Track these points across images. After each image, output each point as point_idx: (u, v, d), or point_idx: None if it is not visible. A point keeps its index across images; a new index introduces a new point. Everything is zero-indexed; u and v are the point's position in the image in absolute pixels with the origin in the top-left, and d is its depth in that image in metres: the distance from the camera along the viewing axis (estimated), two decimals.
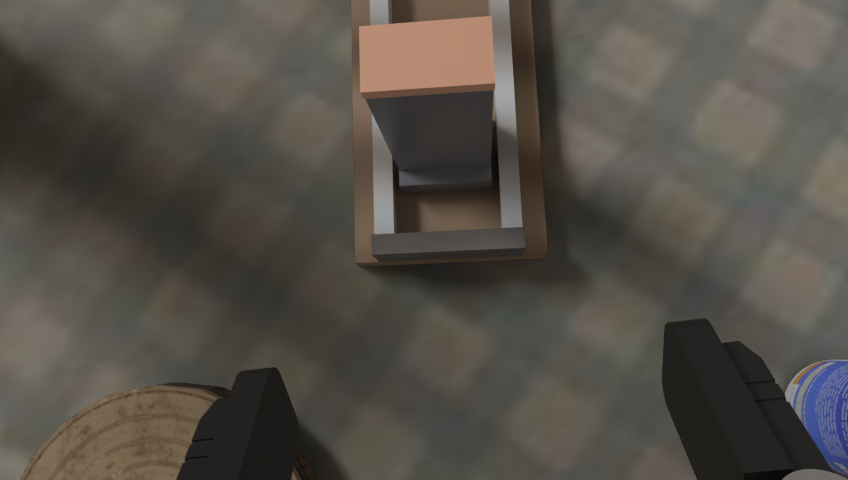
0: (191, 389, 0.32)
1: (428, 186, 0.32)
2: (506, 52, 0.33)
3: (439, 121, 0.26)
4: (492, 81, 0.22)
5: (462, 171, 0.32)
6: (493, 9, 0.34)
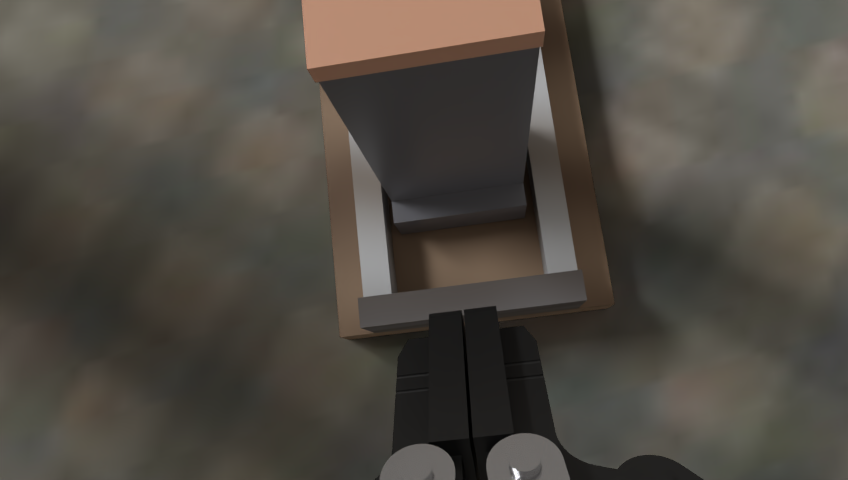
0: None
1: (435, 220, 0.23)
2: None
3: (447, 116, 0.16)
4: (539, 28, 0.12)
5: (482, 195, 0.22)
6: None
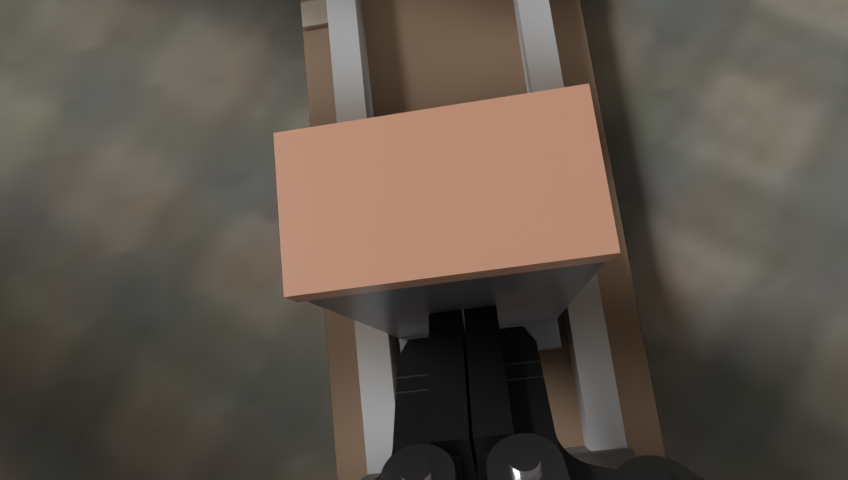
0: None
1: None
2: None
3: (473, 299, 0.12)
4: (612, 248, 0.09)
5: None
6: (533, 64, 0.21)
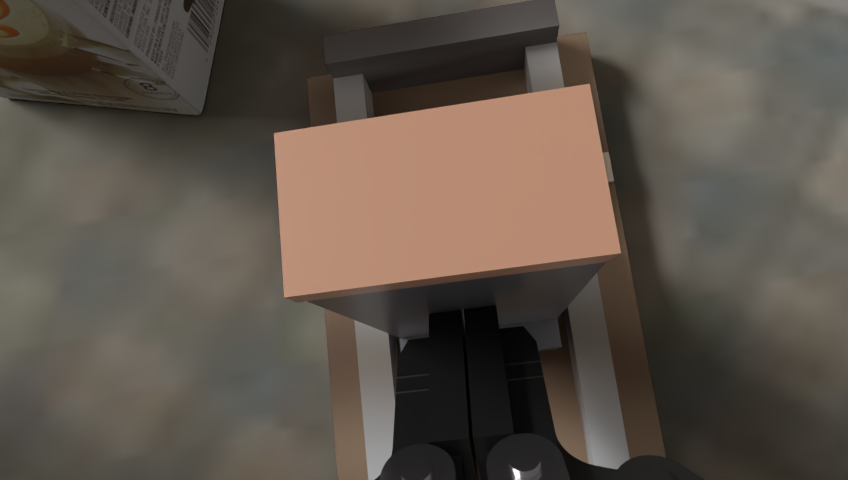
0: None
1: None
2: (604, 375, 0.18)
3: (473, 300, 0.12)
4: (613, 249, 0.09)
5: None
6: None
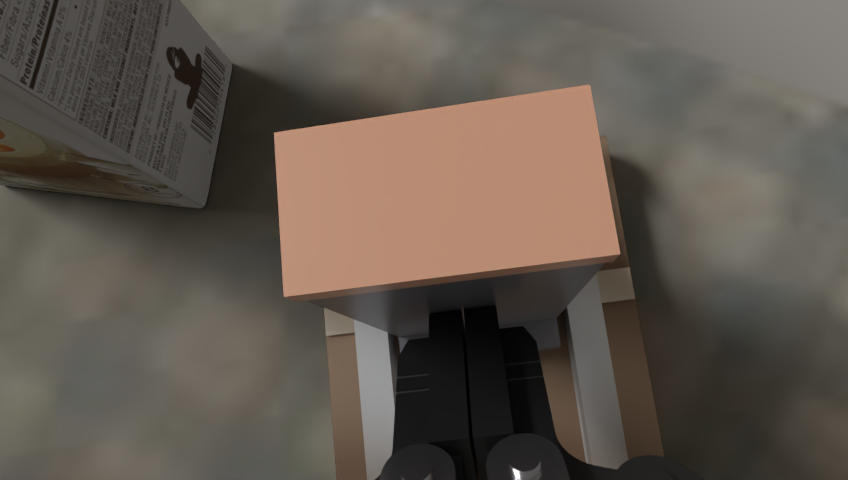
0: None
1: None
2: None
3: (473, 299, 0.12)
4: (612, 250, 0.09)
5: None
6: (592, 427, 0.18)
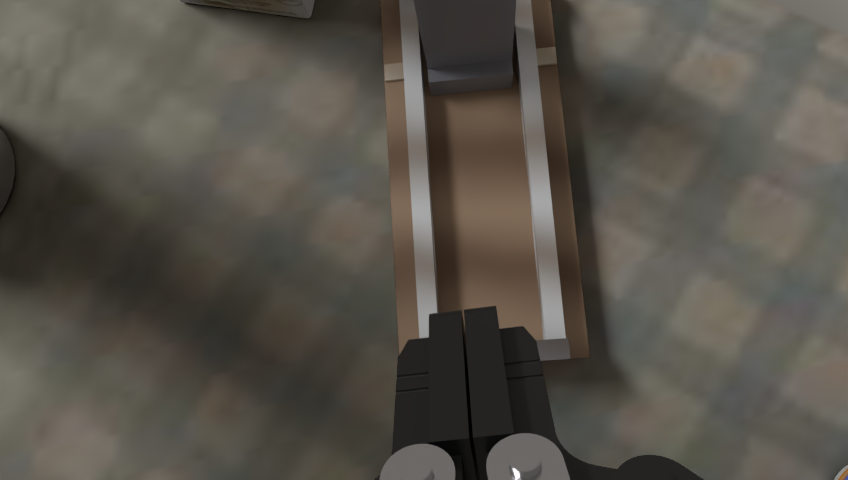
0: None
1: (454, 83, 0.35)
2: (541, 160, 0.34)
3: None
4: None
5: (486, 67, 0.35)
6: (527, 117, 0.35)
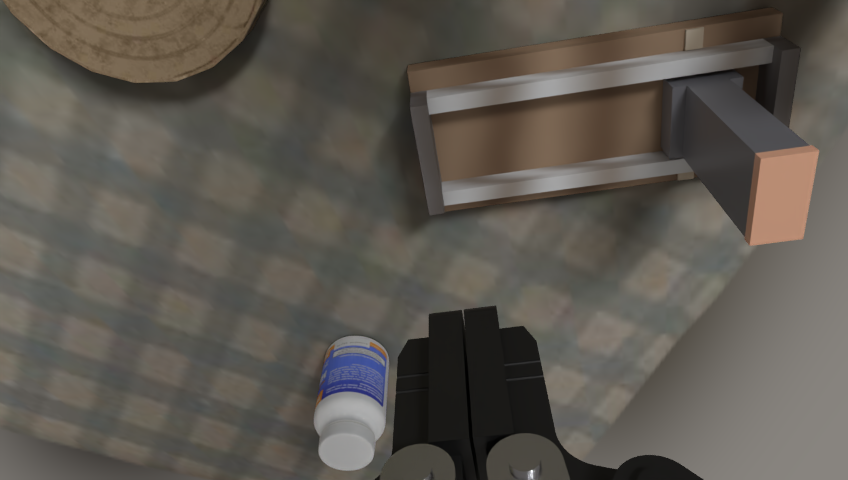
0: None
1: (669, 107, 0.39)
2: (589, 181, 0.41)
3: (727, 174, 0.33)
4: (751, 243, 0.31)
5: (679, 136, 0.39)
6: (628, 169, 0.41)
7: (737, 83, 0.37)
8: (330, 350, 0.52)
